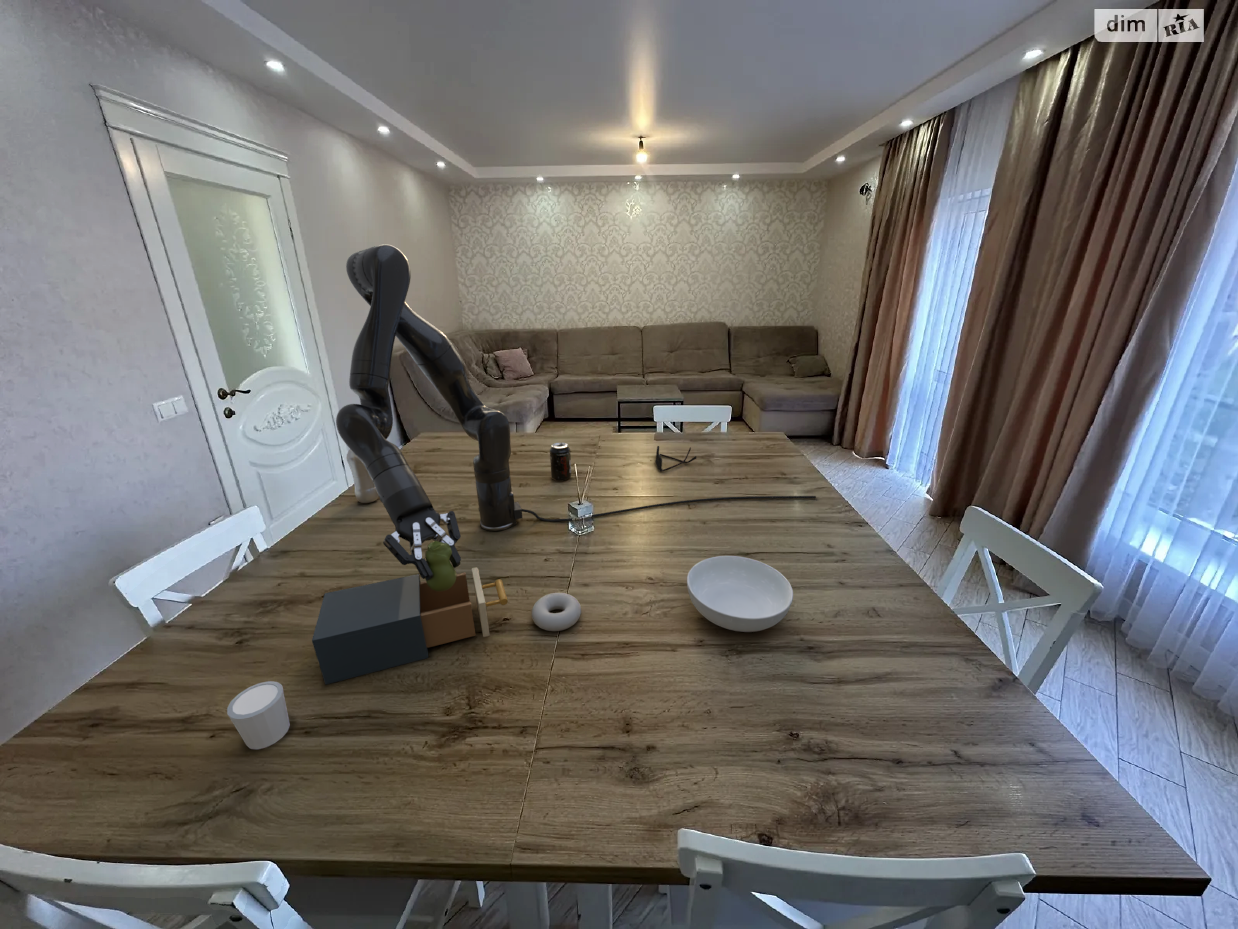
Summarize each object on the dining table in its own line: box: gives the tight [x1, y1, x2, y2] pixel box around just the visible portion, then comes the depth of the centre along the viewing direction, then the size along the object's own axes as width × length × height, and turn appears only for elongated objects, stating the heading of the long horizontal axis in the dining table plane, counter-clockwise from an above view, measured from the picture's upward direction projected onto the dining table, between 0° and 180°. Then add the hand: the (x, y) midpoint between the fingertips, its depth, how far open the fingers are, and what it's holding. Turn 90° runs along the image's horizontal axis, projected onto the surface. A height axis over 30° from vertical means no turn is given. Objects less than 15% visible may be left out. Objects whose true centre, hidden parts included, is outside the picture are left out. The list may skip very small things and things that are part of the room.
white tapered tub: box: [226, 680, 291, 750], centre depth 73 cm, size 7×7×7 cm
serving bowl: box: [686, 555, 794, 633], centre depth 99 cm, size 21×21×7 cm
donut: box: [531, 592, 582, 632], centre depth 98 cm, size 10×4×10 cm
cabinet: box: [311, 573, 429, 686], centre depth 90 cm, size 17×14×10 cm
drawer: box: [420, 567, 509, 649], centre depth 94 cm, size 20×12×8 cm, turn 112°
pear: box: [424, 541, 457, 591], centre depth 90 cm, size 6×5×10 cm
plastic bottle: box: [345, 448, 380, 504], centre depth 146 cm, size 6×7×20 cm
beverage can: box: [549, 442, 572, 482], centre depth 162 cm, size 7×7×12 cm
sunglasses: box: [654, 445, 697, 472], centre depth 176 cm, size 17×14×5 cm
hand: (444, 571), depth 89 cm, fingers closed on pear, 5 cm apart
